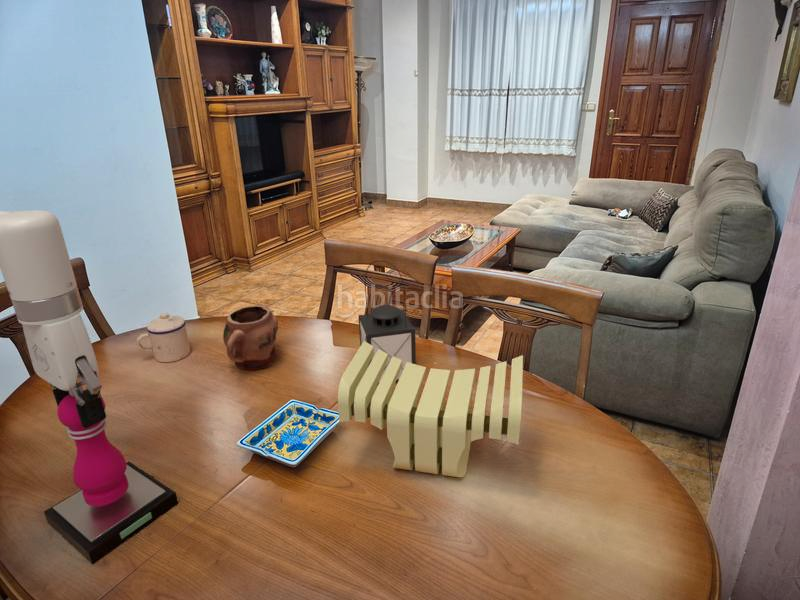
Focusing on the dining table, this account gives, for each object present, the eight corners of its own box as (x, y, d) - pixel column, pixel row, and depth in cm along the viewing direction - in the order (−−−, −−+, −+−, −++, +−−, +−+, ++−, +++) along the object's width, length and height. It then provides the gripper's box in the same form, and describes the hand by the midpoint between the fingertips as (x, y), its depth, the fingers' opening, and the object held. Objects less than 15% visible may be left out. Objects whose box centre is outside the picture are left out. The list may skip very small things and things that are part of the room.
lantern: (360, 364, 126) (353, 255, 115) (404, 357, 129) (402, 251, 118) (369, 387, 116) (362, 272, 105) (416, 380, 119) (414, 266, 108)
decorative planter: (263, 388, 117) (255, 333, 112) (212, 385, 118) (202, 332, 113) (290, 346, 135) (284, 298, 130) (246, 345, 137) (238, 297, 131)
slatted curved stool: (343, 469, 92) (336, 384, 85) (368, 417, 106) (364, 340, 99) (514, 494, 85) (521, 405, 78) (516, 435, 99) (523, 355, 92)
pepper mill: (123, 470, 86) (94, 367, 79) (138, 492, 82) (109, 384, 74) (75, 492, 82) (39, 385, 74) (88, 517, 77) (51, 405, 69)
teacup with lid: (189, 343, 138) (181, 304, 134) (193, 358, 131) (185, 316, 126) (140, 354, 133) (130, 313, 129) (142, 369, 126) (131, 327, 121)
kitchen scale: (92, 564, 74) (87, 549, 73) (47, 523, 82) (42, 508, 80) (178, 503, 85) (175, 489, 84) (131, 471, 92) (128, 458, 91)
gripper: (-10, 300, 71) (29, 409, 78) (48, 329, 62) (86, 450, 68) (48, 283, 76) (80, 386, 83) (110, 308, 67) (139, 421, 74)
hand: (82, 414), depth 76 cm, fingers closed on pepper mill, 6 cm apart
